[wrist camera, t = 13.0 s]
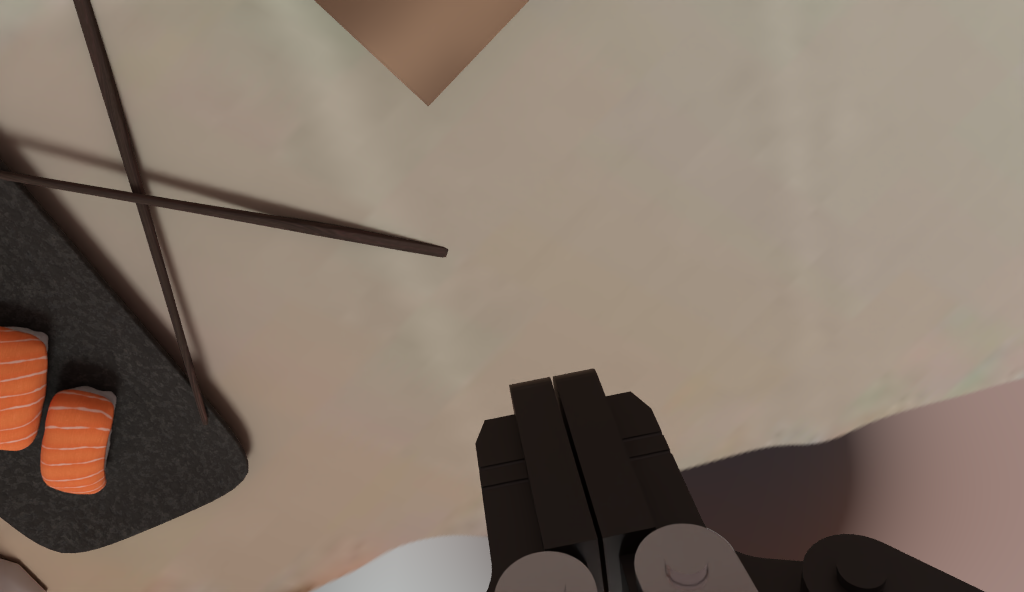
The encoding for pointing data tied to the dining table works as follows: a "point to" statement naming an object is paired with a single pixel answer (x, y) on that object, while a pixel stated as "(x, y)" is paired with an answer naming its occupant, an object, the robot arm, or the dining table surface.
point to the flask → (16, 579)
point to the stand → (423, 35)
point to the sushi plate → (105, 370)
